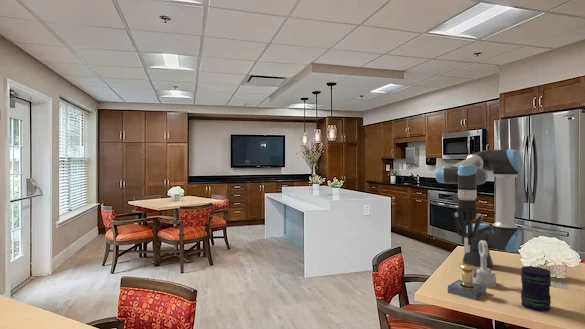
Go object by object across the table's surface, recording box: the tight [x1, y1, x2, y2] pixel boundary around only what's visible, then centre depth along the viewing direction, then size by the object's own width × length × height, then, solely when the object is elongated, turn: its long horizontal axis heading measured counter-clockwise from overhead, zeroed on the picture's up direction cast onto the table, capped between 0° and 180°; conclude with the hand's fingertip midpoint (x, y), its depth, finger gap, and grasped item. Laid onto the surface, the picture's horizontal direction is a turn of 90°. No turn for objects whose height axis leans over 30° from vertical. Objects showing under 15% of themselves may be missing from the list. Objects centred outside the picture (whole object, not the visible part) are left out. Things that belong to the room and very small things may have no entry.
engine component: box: [473, 240, 497, 289], centre depth 170 cm, size 11×20×10 cm
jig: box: [447, 279, 487, 301], centre depth 159 cm, size 12×12×3 cm
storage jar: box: [520, 265, 552, 313], centre depth 143 cm, size 10×10×15 cm
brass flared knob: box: [459, 263, 475, 288], centre depth 159 cm, size 6×6×12 cm
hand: (467, 251), depth 159 cm, fingers closed
